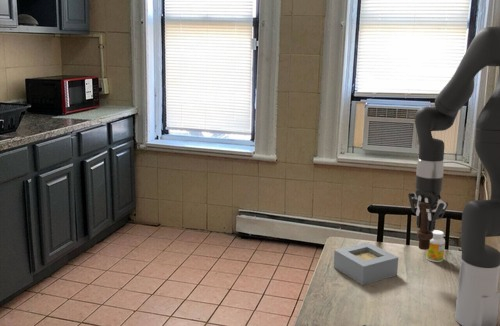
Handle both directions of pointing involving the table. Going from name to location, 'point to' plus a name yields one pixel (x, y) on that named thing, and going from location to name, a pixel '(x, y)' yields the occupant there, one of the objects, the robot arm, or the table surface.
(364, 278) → the socket block
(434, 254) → the supplement bottle
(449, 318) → the table surface
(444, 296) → the table surface
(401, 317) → the table surface
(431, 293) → the table surface
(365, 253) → the beige square tile
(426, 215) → the bolt
